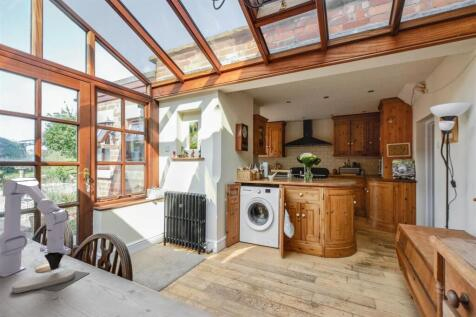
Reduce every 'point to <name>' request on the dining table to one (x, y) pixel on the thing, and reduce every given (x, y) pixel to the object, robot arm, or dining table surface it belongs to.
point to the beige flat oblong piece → (43, 281)
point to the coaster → (44, 268)
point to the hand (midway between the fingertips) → (54, 269)
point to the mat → (62, 285)
